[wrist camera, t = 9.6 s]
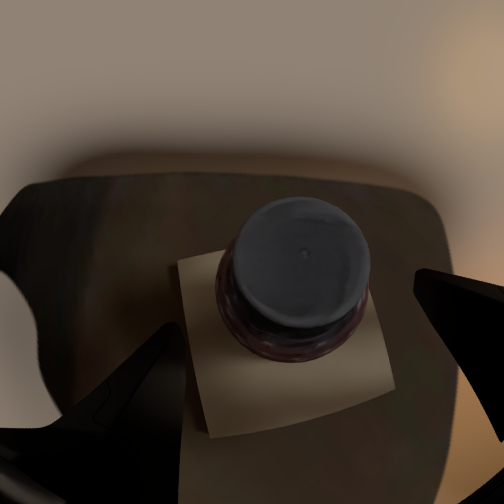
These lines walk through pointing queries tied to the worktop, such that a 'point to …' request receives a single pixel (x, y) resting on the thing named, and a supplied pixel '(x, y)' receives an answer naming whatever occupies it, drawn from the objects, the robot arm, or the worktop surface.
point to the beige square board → (272, 366)
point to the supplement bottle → (294, 280)
